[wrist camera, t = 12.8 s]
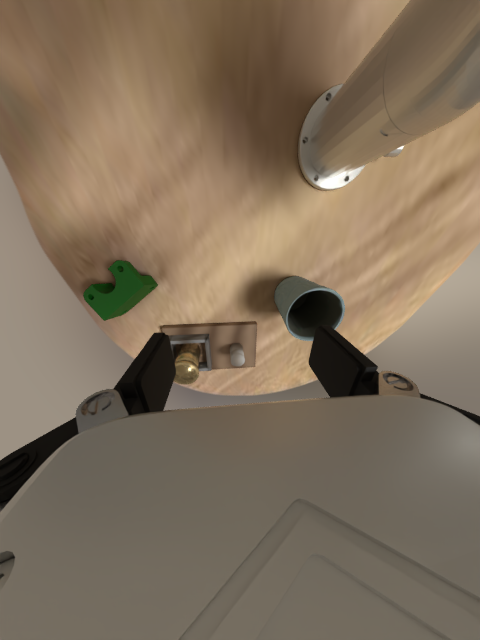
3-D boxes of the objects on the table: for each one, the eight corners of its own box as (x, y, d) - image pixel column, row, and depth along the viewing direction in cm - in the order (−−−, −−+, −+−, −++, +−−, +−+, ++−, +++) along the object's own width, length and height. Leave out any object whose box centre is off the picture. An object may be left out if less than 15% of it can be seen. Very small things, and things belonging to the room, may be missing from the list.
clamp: (143, 266, 39) (129, 251, 30) (161, 288, 40) (152, 279, 31) (94, 298, 36) (63, 291, 28) (114, 320, 37) (90, 321, 29)
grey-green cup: (319, 297, 41) (353, 320, 30) (283, 322, 43) (303, 351, 32) (299, 263, 37) (330, 274, 26) (261, 291, 39) (275, 313, 28)
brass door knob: (200, 339, 41) (196, 362, 34) (203, 358, 44) (200, 383, 37) (176, 341, 41) (166, 364, 34) (180, 360, 44) (172, 385, 37)
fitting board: (255, 321, 42) (261, 335, 37) (254, 363, 48) (258, 380, 42) (163, 325, 41) (153, 340, 35) (173, 368, 46) (166, 387, 41)
